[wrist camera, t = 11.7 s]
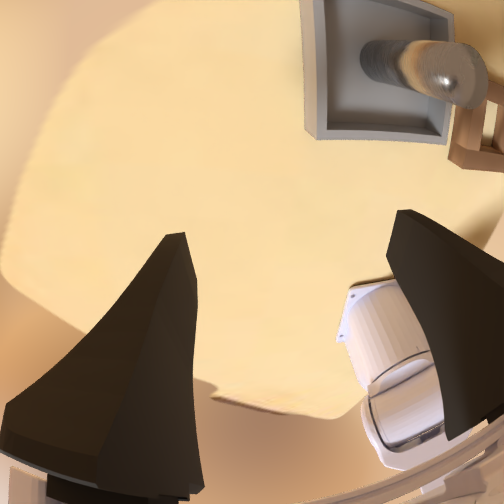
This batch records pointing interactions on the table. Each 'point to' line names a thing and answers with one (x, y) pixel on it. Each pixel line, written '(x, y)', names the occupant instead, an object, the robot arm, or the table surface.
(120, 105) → the table surface
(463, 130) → the socket
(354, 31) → the tray
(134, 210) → the table surface
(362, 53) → the pin
